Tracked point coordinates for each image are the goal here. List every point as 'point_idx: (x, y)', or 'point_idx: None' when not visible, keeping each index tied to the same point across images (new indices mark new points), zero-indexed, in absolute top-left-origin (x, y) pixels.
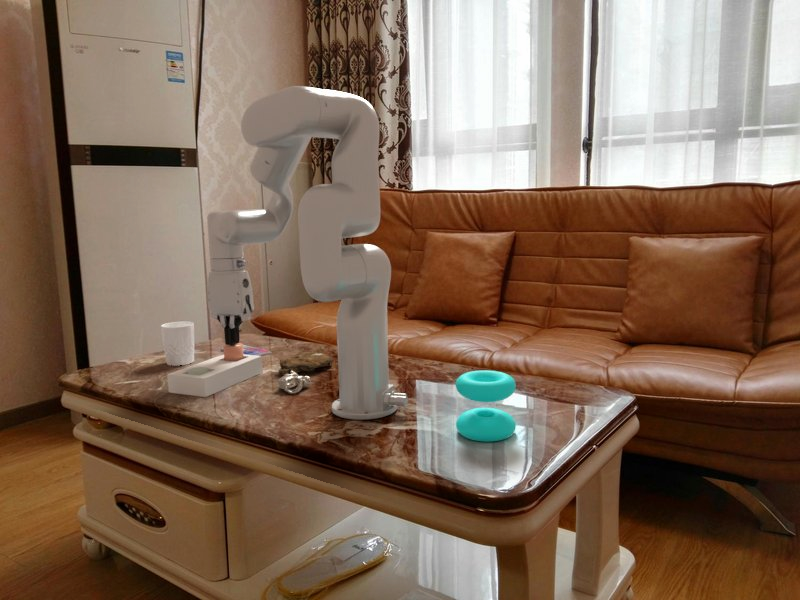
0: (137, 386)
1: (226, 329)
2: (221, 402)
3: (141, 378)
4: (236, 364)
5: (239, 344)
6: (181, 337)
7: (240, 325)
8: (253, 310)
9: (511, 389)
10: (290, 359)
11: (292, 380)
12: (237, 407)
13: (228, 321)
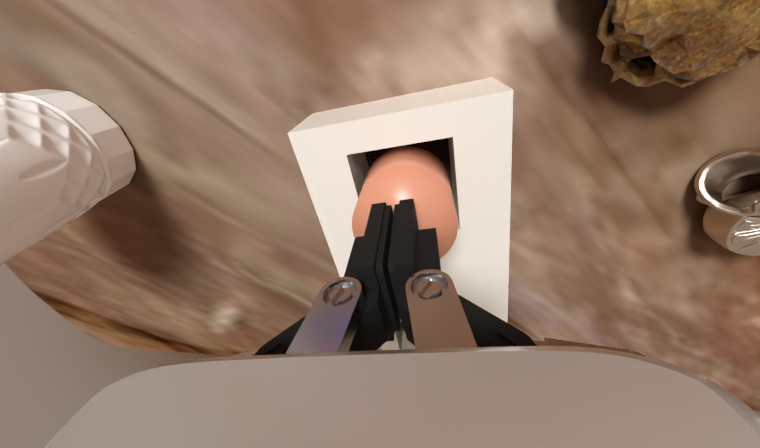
0: (276, 330)
1: (392, 329)
2: (561, 339)
3: (212, 294)
4: (493, 254)
5: (429, 207)
6: (31, 224)
7: (447, 278)
8: (721, 389)
9: None
10: (720, 4)
11: (748, 159)
12: (625, 348)
13: (354, 338)
